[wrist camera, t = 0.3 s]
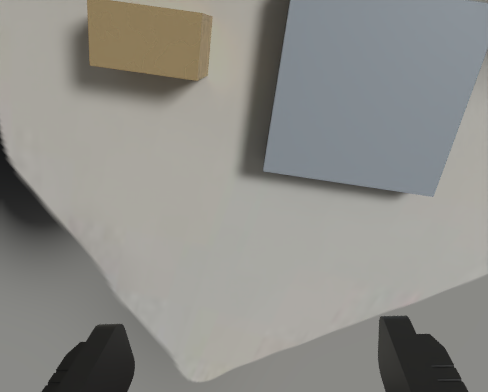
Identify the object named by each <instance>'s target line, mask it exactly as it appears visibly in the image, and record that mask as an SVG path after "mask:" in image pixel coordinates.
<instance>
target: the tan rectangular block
mask: <svg viewBox="0 0 488 392" xmlns="http://www.w3.org/2000/svg"><path fill="white" fill-rule="evenodd" d="M87 9H88V35H89V61H90V66H97V67H104V68H111V69H118V70H125V71H132V72H139V73H146V74H153V75H160V76H167V77H174V78H181V79H188V80H195V81H198V80H200V79H202V78H204V77H206V76H207V75H208V64H209V52H210V40H211V28H212V16H209V15H206V14H203V13H197V12H190V11H183V10H176V9H169V8H161V7H154V6H147V5H140V4H132V3H125V2H118V1H111V0H87Z"/></svg>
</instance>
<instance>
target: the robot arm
mask: <svg viewBox="0 0 488 392" xmlns="http://www.w3.org/2000/svg"><path fill="white" fill-rule="evenodd" d="M378 362H379V369H380V374H381V378H382V381H383V384H384V388H385V391H386V392H468V390H467V388H466V386H465V385H464V383H463V382H462V381H461V377H460V375H459V373H458V372H457V370H456V368H454V364H453V363H452V361H451V359H450V357H449V355H448V353H447V351H446V349H445V348H444V347H443V346H442V345H441V344H440V343H439V342H437V340H435V338H433V337H432V336H431V335H430V334H416V332H415V330H414V328H413V326H412V323H411V321H410V319H409V318H408V317H407V316H381V317H380V320H379V341H378ZM134 369H135V361H134V357H133V353H132V350H131V347H130V344H129V340H128V337H127V334H126V330H125V328H124V326H123V325H122V324H105V325H104V324H103V325H97V326H96V327H95V328H94V330H93V331H92V333H91V335H90V336H89V338H88V339H87V341H86V342H80V343H79V344H78V345H77V346H76V347H74V348H73V349H72V350H71V351H70V352H69V353H68V354H67V355H66V356H65V357H64V359H63V360H62V362H61V364H60V365H59V367H58V368H57V369H56V373H54V374H53V376H52V377H51V379H50V380H49V382H48V385H47V386H45V388H44V389H43V391H42V392H127V391H128V389H129V386H130V384H131V382H132V379H133V376H134Z"/></svg>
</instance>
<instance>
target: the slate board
mask: <svg viewBox="0 0 488 392" xmlns="http://www.w3.org/2000/svg"><path fill="white" fill-rule="evenodd" d="M487 49H488V3H484V2H477V1H470V0H290V2H289V8H288V14H287V21H286V27H285V33H284V39H283V46H282V52H281V58H280V64H279V71H278V77H277V83H276V89H275V96H274V102H273V108H272V114H271V121H270V127H269V133H268V140H267V146H266V152H265V158H264V167H263V171H265V172H271V173H278V174H285V175H291V176H298V177H305V178H311V179H318V180H325V181H331V182H338V183H345V184H351V185H358V186H365V187H371V188H378V189H385V190H391V191H398V192H405V193H411V194H418V195H425V196H431V197H433V196H434V194H435V191H436V188H437V185H438V183H439V180H440V177H441V175H442V172H443V169H444V166H445V164H446V161H447V158H448V155H449V153H450V150H451V147H452V144H453V142H454V139H455V136H456V134H457V131H458V128H459V125H460V123H461V120H462V117H463V114H464V112H465V109H466V106H467V104H468V101H469V98H470V95H471V93H472V90H473V87H474V84H475V82H476V79H477V76H478V74H479V71H480V68H481V65H482V63H483V60H484V57H485V54H486V52H487Z"/></svg>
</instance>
